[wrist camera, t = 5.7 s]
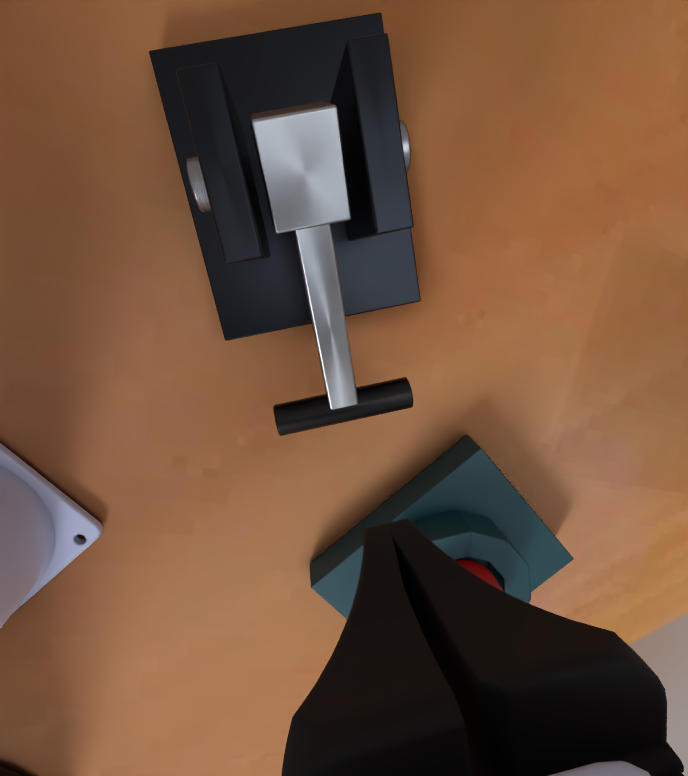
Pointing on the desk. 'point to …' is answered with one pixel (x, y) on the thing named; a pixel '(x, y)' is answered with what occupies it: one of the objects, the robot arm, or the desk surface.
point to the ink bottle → (8, 772)
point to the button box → (454, 528)
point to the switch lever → (318, 256)
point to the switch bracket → (244, 179)
